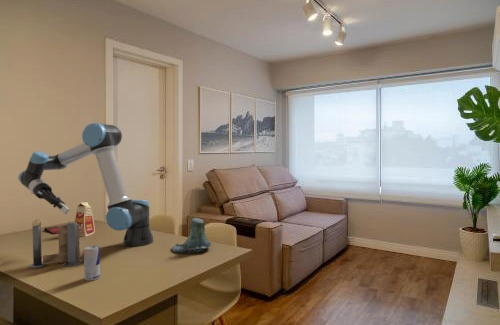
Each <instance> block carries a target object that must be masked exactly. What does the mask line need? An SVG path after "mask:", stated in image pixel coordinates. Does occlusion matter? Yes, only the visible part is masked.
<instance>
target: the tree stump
mask: <svg viewBox="0 0 500 325" xmlns="http://www.w3.org/2000/svg"><path fill="white" fill-rule="evenodd" d="M189 225H190V226H189V229H190V233H189V236H188V237H186V240H185V241H184V242H183V243H182V244H181V243H180V244H179V243H176V244H175V245H174V246H172V247H171V251H172V252H173V253H176V254H198V253H200V252H202V251H205V250H207V249H208V248H209V247H210V246H211V245H212V242H210V241H208V237H207V235H206V227H205V221H204V220H203V219H202V218H200V217H199V218H197V217H193V218H192V219H191V222H190V224H189Z"/></svg>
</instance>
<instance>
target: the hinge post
mask: <svg viewBox="0 0 500 325" xmlns="http://www.w3.org/2000/svg"><path fill="white" fill-rule="evenodd" d="M31 227H32V228H31V229H32V255H33V256H32V261H33V262H32V264H29V266H28V268H29V269H41V268H44V267H46V266H47V263H43V255H42V229H41V228H42V222H41V220H39V219H34V220H33V221H32V222H31Z"/></svg>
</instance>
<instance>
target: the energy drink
mask: <svg viewBox="0 0 500 325" xmlns="http://www.w3.org/2000/svg"><path fill="white" fill-rule="evenodd" d="M100 254H101V253H100V246H99V245H88V246H86V247H84V249H83V266H84V269H83V270H84V272H83V274H84V281H87V282H92V281H96V280H98V279H99V278H101V277H100V276H101V267H100V265H101V262H100V261H101V260H100Z"/></svg>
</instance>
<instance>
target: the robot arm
mask: <svg viewBox="0 0 500 325" xmlns="http://www.w3.org/2000/svg"><path fill="white" fill-rule="evenodd" d="M81 139H82V141H83V142H82V143H79V144H78V145H76V146H73V147H71V148H68V149H67V150H64V151H62V152H60V153H58V154H56V155H49V154H47V153H45V152H43V151H33V153H32V154H31V156H30V158H29V161H28V164H27V166H26V169H25V170H22V171H21V172H20V173H19V175H18V180H19V182H20V184H21V185H22V186H24V187H26V189H28V190H29V191H30V192H31V194H32V195H34V196H35V197H37V198H38V199H41V200H45V201H46V202H47V203H49V204H50V205H52V207H53V208H55V209H56V208H57V209H58V210H59V211H61V212H62V214H65V215H67V214H68V213H69V211H70V208H69V207H67V206H66V203H65V202H64V201H63V200H62V199H61V197H59V196H57V195H55V193H54V192H52V191H53V189H52V187H51V186H50V185H49V184H48V183H47V182H46V181H44V180H43V179H42V175H43V173H44V171H52V170H58V171H59V170H63V169H66V168H67V167H68V165H71V164H73V163H76V162H77V161H80V160H82V159H85V158H87V157H89V156H92V155H95V157H96V161H97V164H98V168H99V170H100V176H101V177H102V180H103V184H104V188H105V192H106V194H107V198H108V203H107V205H106V206H107V210H108V211H107V212H106V215H105V221H106V223H107V225H108V226H109V228H111V229H112V230H115V231H124V230H125V234H124V238H123V242H122V243H123V245H124V246H127V247H139V246H145V245H150V244H152V243H153V242H154V236H153V234H152V230H151V227H150V202H149V200H148V199H147V200H146V199H132V198H131V197H128V194H127V190H126V187H125V185H124V181H123V178H122V174H121V171H120V166H119V164H118V160H117V157H116V154H115V150H116V149H117V146H118V145H120V143H121V141H122V139H123V135H122V131H121V130H120V128H119V127H118V126H115V125H113V124H106V123H100V122H92V123H89V124H87V125H86V126H85V127H84V130H82V134H81Z"/></svg>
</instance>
